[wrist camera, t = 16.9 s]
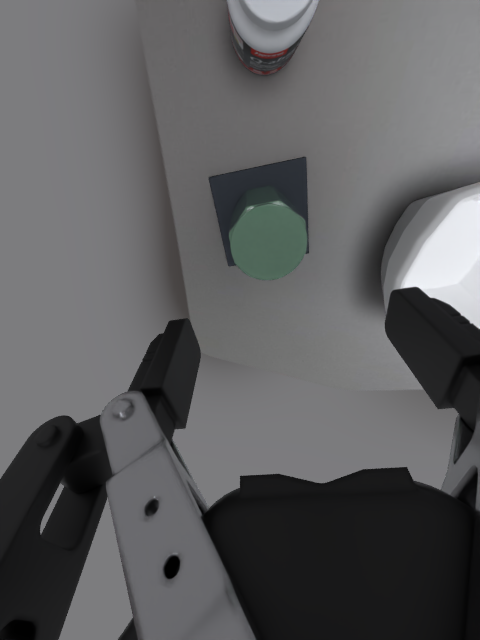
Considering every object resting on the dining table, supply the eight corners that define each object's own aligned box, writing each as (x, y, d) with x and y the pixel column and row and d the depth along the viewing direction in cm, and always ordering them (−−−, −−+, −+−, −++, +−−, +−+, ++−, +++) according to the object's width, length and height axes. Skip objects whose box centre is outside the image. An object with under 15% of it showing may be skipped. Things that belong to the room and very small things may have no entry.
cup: (229, 193, 27) (222, 212, 19) (289, 181, 26) (306, 196, 19) (240, 250, 30) (238, 285, 23) (293, 241, 30) (308, 274, 22)
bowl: (471, 309, 35) (534, 355, 27) (343, 308, 35) (369, 354, 28) (566, 158, 25) (710, 165, 17) (384, 159, 25) (444, 167, 17)
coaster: (209, 177, 26) (208, 177, 26) (305, 156, 25) (306, 157, 25) (228, 264, 32) (228, 266, 32) (307, 251, 31) (308, 253, 30)
